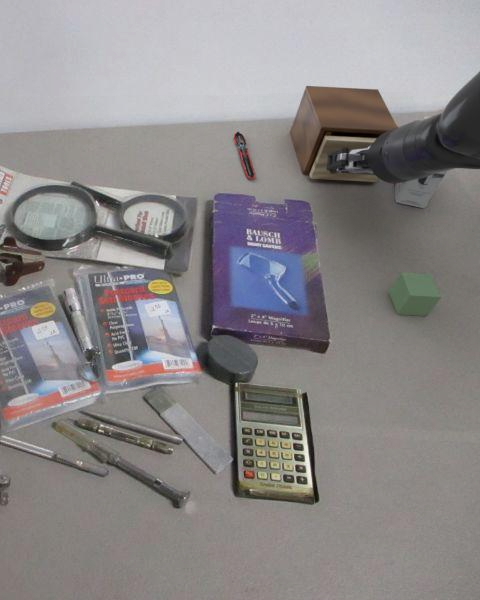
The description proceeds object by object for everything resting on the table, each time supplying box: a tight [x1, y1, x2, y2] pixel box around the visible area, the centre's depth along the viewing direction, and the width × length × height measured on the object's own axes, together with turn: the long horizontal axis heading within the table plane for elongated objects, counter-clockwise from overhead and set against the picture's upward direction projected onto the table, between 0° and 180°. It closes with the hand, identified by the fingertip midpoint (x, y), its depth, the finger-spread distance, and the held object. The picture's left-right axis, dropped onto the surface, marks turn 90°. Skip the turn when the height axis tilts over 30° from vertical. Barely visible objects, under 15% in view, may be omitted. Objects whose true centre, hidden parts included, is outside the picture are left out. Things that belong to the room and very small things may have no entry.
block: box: [388, 272, 442, 317], centre depth 83 cm, size 4×4×4 cm
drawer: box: [308, 131, 382, 183], centre depth 100 cm, size 16×11×8 cm
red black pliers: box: [233, 131, 256, 180], centre depth 106 cm, size 2×14×1 cm, turn 1°
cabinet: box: [289, 85, 399, 176], centre depth 104 cm, size 13×13×10 cm
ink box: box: [394, 115, 448, 209], centre depth 97 cm, size 8×5×12 cm, turn 162°
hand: (356, 168), depth 97 cm, fingers open, 7 cm apart
